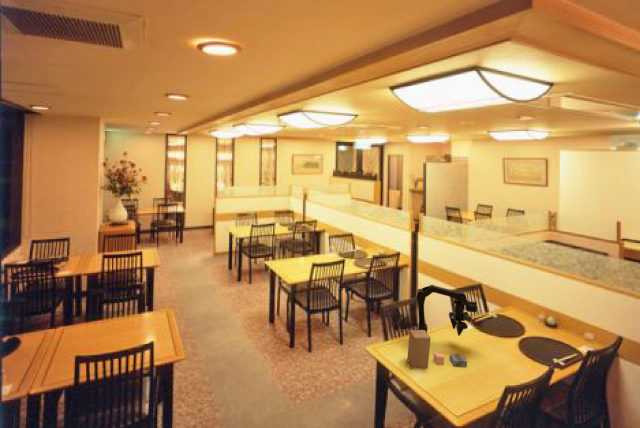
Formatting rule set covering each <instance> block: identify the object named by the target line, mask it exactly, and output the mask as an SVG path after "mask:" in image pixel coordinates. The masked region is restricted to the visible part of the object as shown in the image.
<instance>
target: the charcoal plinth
mask: <svg viewBox="0 0 640 428" xmlns="http://www.w3.org/2000/svg"><path fill="white" fill-rule="evenodd" d="M449 361H450V363H451V364H452V366H453V367H458V368H467V367H468V366H467V365H468V360H467V359H466V358H465V356H464V355H463V354H457V353H456V354H455V353H450V354H449Z"/></svg>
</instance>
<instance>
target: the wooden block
mask: <svg viewBox="0 0 640 428" xmlns="http://www.w3.org/2000/svg"><path fill="white" fill-rule="evenodd" d="M427 333H428V331H427V332H426V331H425V330H416V329H409V333H408V349H407V356H406V357H407V362H408V363H409V364H410V367H411V368H412V369H421V368H423V369H424V368H425V369H428V367H429V359H430V347H431V340H432V339H431V336H430V335H429V334H427Z"/></svg>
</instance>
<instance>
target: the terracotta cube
mask: <svg viewBox="0 0 640 428" xmlns="http://www.w3.org/2000/svg"><path fill="white" fill-rule="evenodd" d="M433 361H434V363H435V365H445V355H444V354H443V352H434V353H433Z"/></svg>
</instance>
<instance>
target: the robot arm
mask: <svg viewBox="0 0 640 428" xmlns="http://www.w3.org/2000/svg"><path fill="white" fill-rule="evenodd" d="M433 293H435V294H439V295H443V296H446V297H449V298H452V299H453V300H452V304H454V309H453V310H452V311H450V312H448V317H449V320H450V323H451V326H452V329H453V330H455V329H456V333H457V336H459V337H460V336H461V335H462V333H463V332H464V330H467V329H468V328H469V327H468V326H469V325H468V324H467V323H466V322H468V323H471V322H472V320H473V317H472V316H471V315H469V313H468V312H470V313H477V312H478V305H477V304H478V302H477V301H470V300H469V301H468V299H467V295H466V294H465V292H464V291H463V290H460V289H448V288H445V287H442V286H437V285H434V284H430V285H428V286H424V287H422V288H417V289H416V293H415V294H416V300H417V303H418V304H417V305H418V309H417V310H418V324H417V328H415V330H425V331H426V332H427V334H428V324H427V323H425V301H426V298H427V297H429V296H430V295H431V294H433ZM465 310H466V311H465ZM465 321H466V322H465ZM428 335H429V334H428Z"/></svg>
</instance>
